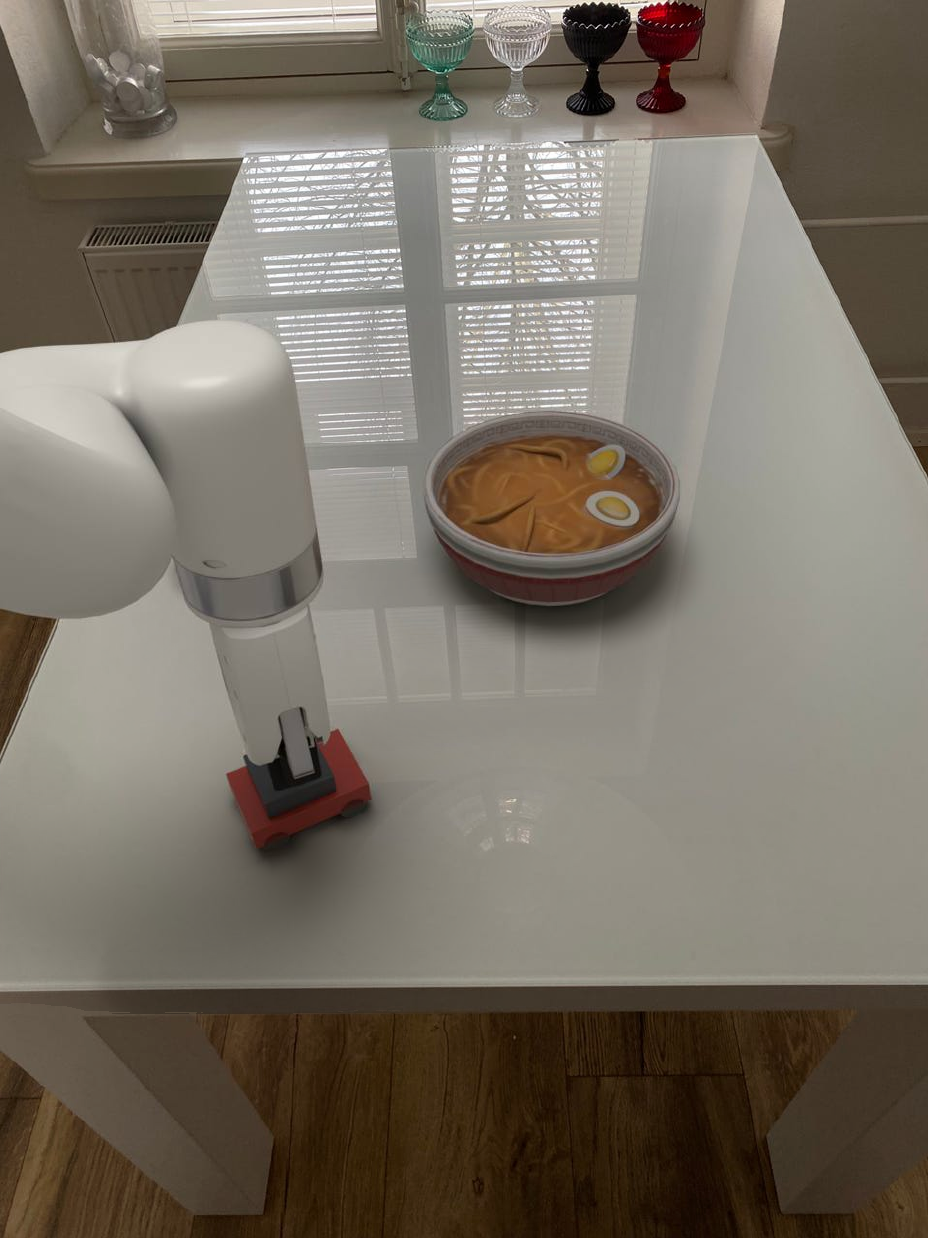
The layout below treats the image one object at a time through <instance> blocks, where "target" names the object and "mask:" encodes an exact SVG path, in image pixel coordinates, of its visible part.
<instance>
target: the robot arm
mask: <svg viewBox="0 0 928 1238" xmlns="http://www.w3.org/2000/svg"><path fill="white" fill-rule="evenodd" d="M301 417H302V416H301V410H300V405H299V397H298V391H297V383H296V377H295V373H294V368H293V363H292V360H291V358H290V355H289V354H288V351H287V350H286V348H285V347H284V345H283V344H282V343H281V342H280V341H279V340H278V339H277V337H275V335H273V334H271V333H270V332H268V331H267V330H266V329H263V328H261V327H258V326H256V325H254V324H251V323H246V322H243V321H237V320H227V319H209V320H199V321H193V322H188V323H187V322H186V323H183V324H180V325H176V326H174V327H173V326H172V327H171V328H167V329H165V330H163V331H160V332H159V333H156V334H154V335H153V336H151V337H150V338H146V339H141V340H130V341H120V342H119V341H118V342H117V341H116V342H101V343H85V344H61V345H59V344H57V345H44V346H41V345H39V346H32V347H24V348H23V347H22V348H17V349H11V350H7V351H4V352H0V610H5V611H9V612H12V613H17V614H21V615H25V616H32V617H39V618H40V617H41V618H46V619H47V618H48V619H55V620H74V619H75V620H80V619H87V618H94V617H103V616H105V615H108V614H112V613H115V612H117V611H120V610H122V609H124V608H126V607H128V606H130V605H133V604H134V603H136V602H138V601H139V600H140V599H142V598H143V597H145V596H146V595H147V594H148V593H149V592H151V591H152V590H153V589H154V587H155V586H156V585H157V584H158V583H159V582H160V581H161V579H162V578H163V577H164V576H165V574H166V571H167V570H168V568H169V566H170V564H171V562H172V561H173V564H174V568H175V571H176V575H177V578H178V582H179V585H180V588H181V592H182V596H183V599H184V602H185V604H186V606H187V608H188V609H189V610H190V611H191V612H192V614H194V615H195V616H196V617H197V618H199V619H201V620H202V621H205V622H207V623H208V625H209V629H210V633H211V638H212V641H213V645H214V649H215V652H216V657H217V659H218V664H219V667H220V671H221V675H222V679H223V682H224V685H225V689H226V693H227V696H228V700H229V703H230V706H231V709H232V712H233V715H234V719H235V722H236V726H237V729H238V732H239V735H240V738H241V742H242V744H243V747H244V751H245V754H247V756H248V758H249V760H250V761H251V762H252V763H254V764H256V765H258V766H260V765H263V764H267V768H268V772H269V775H270V778H271V781H272V784H273V788H274V790H275V791H282V790H285V789H288V788H291V787H297V786H300V785H303V784H305V783H307V782H310V781H313V780H316V779H318V778H320V777H321V775H322V772H321V767H320V762H319V756H318V751H317V745H316V740H317V743H322V745H323V746H324V745H325V744H326V742H327V741H328V739H329V737H330V732H331V722H330V714H329V708H328V701H327V695H326V689H325V683H324V677H323V671H322V666H321V660H320V655H319V654H320V653H319V649H318V644H317V635H316V633H315V627H314V622H313V618H312V612H311V608H310V607H311V606H310V604H311V603H312V602H313V601H314V599H315V598H316V597H317V596H318V594H319V593H320V591H321V588H322V586H323V583H324V577H325V575H324V573H325V572H324V566H323V561H322V554H321V547H320V540H319V533H318V526H317V519H316V512H315V511H316V510H315V505H314V498H313V492H312V485H311V478H310V471H309V464H308V458H307V452H306V445H305V438H304V437H305V436H304V432H303V424H302V418H301ZM315 738H316V740H315Z"/></svg>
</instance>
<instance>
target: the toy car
mask: <svg viewBox="0 0 928 1238" xmlns="http://www.w3.org/2000/svg"><path fill="white" fill-rule="evenodd" d="M315 740H316V738H315ZM316 745H317V751H318V756H319V762H320V767H321V772H322V775H321V777H320V778H318V779H316V780H313V781H310V782H307V783H305V784H303V785H300V786H297V787H291V788H288V789H285V790H282V791H275V790H274V788H273V784H272V781H271V778H270V775H269V772H268V768H267V764H263V765H260V766H258V765H256V764H254V763H252V762H251V761H250V760H249V758H248V756H247V753H245V754H244V755H243V762H244V766H242V767H240V768H236V769H235V770H232V771H230V772H227V773H226V774H225V775H226V779H227V781H228V785H229V788H230V791H231V793H232V795H233V798H234V800H235V802H236V805H237V808H238V810H239V813H240V815H241V817H242V819H243V821H244V824H245V827H246V828H247V831H248V833H249V837H250V839H251V840H252V843H253V845H254V847H255V849H256V850H259V849H261V848H263V849H264V850H266V851H275V850H279V849H281V848H283V847H284V846H285V845H286V844H287V843H288V842H289V839H290V836H291V835H293V834H296V833H298V832H300V831H303V830H305V829H307V828H309V827H311V826H314V825H316V824H318V823H321V822H324V821H326V820H328V819H330V818H333V817H334V816H335V817H336V816H337V815H339V814H340V816H342V817H344V818H352V817H354V816H357V815H358V814H359V813H361V812H362V811H363V810H364V808H365V806H366V803H367V802H369V801H372V795H371V789H370V788H371V787H370V783H369V781H368V779H367V778H366V776H365V774H364V772H363V770H362V769H361V767H360V765H359V763H358V761H357V760H356V758H355V755H354V754H353V752H352V751H351V749H350V747H349V745H348V743H347V742H346V740H345V737H344V736H343V735H342V733H341V731H340V729H339V728H336V729H334V730H330V737H329V739H328V741H327V742H326V744H325V745H324V746H323V745H322V743H317V740H316Z"/></svg>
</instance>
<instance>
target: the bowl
mask: <svg viewBox="0 0 928 1238" xmlns="http://www.w3.org/2000/svg"><path fill="white" fill-rule="evenodd" d="M424 472H425V473H424V475H423V481H422V483H423V485H422V486H423V487H422V488H423V491H422V493H423V494H422V495H423V500H424V505H425V511H426V513H427V516H428V520H429V523H430V525H431V527H432V528H433V531H434V534H435V535H436V538H437V540H438V542H439V544H440V546H442V548H443V549H444V551H445V552H446V554H447V555H448V557H449V558H450V559H451V560H452V561H453V562H454V563H455V565H456V566H457V567H458V568H459V570H461V571H462V573H464V574H465V575H466V576H468V577H469V578H470V579H471V580H472V581H474V582H476V583H477V584H479V585H481V586H482V587H484V588H485V589H487V590H489V591H491V592H492V593H494V594H496V595H497V596H500V597H503V598H505V599H508V600H511V601H513V602H517V603H523V604H526V605H533V606H542V607H543V606H544V607H554V606H555V607H556V606H568V605H574V604H575V605H576V604H580V603H585V602H588V601H590V600H593V599H595V598H598V597H600V596H603V595H605V594H607V593H608V592H609V593H610V592H611V591H613V590H615V589H617V588H618V587H620V586H622V585H624V584H626V583H627V582H628V581H629V580H630V579H632V578H633V577H635V575H636V574H637V573H639V571H641V570H642V569H643V568H644V567H645V566H646V565H647V564H648V563H649V562H650V561H651V560H652V559H653V557H654V556H655V554H656V553H657V552H658V550H659V549H660V548H661V546H662V544H663V543H664V541H665V539H666V537H667V535H668V533H669V531H670V530H671V528H672V526H673V522H674V519H675V517H676V513H677V510H678V507H679V503H680V499H681V480H680V476H679V473H678V471H677V468H676V466H675V464H674V463H673V461H672V459H671V458H670V456H669V455H668V454H667V453H666V451H665V450H663V449H662V448H661V447H660V446H659V444H657V443H655V441H653V440H652V439H651V438H649V437H647V436H646V435H645V434H643V433H641V432H639V430H637V429H634V428H632V427H630V426H628V425H625V424H623V423H620V422H618V421H617V420H616V421H615V420H612V419H608V418H605V417H601V416H597V415H593V414H588V413H583V412H577V411H576V412H575V411H564V410H563V411H561V410H538V411H537V410H535V411H525V412H519V413H512V414H511V413H510V414H505V415H501V416H498V417H495V418H491V419H487V420H485V421H482V422H479V423H477V424H475V425H473V426H470V427H467V428H466V429H464V430H462V431H461V432H459V433H457V434H455V435H454V436H452V437H451V438H450V439H448V440H447V441H446V442H445V443H444V444H443V445H441V447H440V448H438V450H437V451H436V452H435V454H434V455H433V456H432V458H431V459H430V460H429V462H428V464H427V466H426V470H425V471H424Z"/></svg>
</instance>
